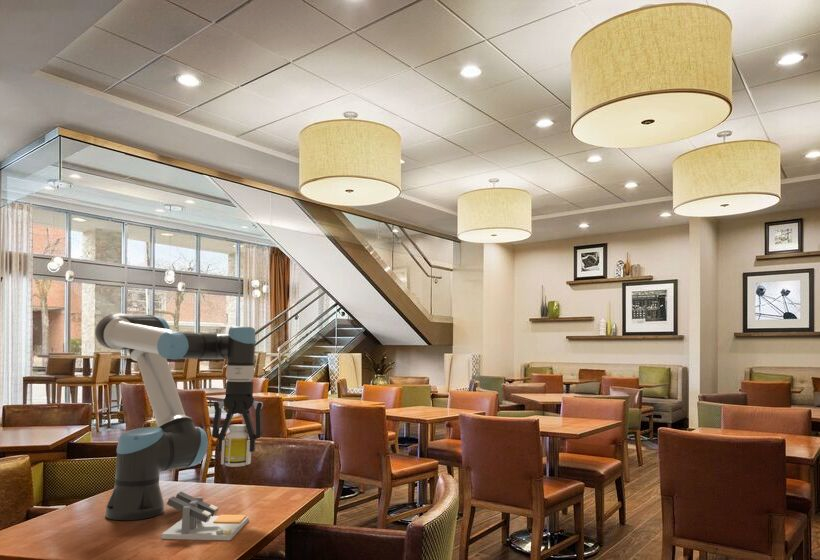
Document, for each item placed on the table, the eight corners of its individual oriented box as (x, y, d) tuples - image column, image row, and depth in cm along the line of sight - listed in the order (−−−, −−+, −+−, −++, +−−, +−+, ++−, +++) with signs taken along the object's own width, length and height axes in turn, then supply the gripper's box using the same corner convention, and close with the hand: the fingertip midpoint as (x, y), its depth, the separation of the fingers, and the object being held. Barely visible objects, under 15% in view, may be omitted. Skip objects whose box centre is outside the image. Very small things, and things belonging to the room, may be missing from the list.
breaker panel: (161, 538, 151) (163, 507, 152) (186, 519, 169) (188, 491, 170) (230, 540, 151) (231, 508, 152) (248, 520, 169) (249, 492, 170)
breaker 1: (166, 504, 153) (169, 497, 154) (171, 501, 157) (174, 494, 157) (205, 522, 153) (208, 516, 153) (209, 519, 156) (212, 512, 156)
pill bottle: (251, 464, 174) (253, 424, 175) (237, 467, 168) (239, 426, 169) (234, 462, 176) (236, 423, 177) (219, 465, 170) (221, 425, 172)
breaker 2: (174, 499, 159) (177, 492, 159) (179, 496, 162) (181, 490, 162) (212, 516, 158) (215, 510, 159) (216, 513, 162) (219, 507, 162)
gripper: (202, 380, 171) (197, 465, 168) (271, 381, 171) (267, 466, 169) (209, 379, 178) (205, 460, 176) (276, 380, 179) (272, 461, 176)
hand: (235, 463), depth 172 cm, fingers closed on pill bottle, 6 cm apart
